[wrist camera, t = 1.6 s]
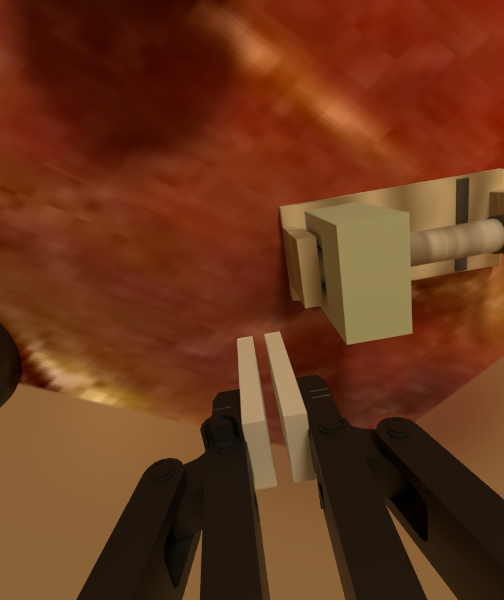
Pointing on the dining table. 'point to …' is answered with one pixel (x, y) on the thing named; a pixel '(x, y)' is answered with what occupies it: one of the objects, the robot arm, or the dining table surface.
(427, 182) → the rail stand
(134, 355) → the dining table surface
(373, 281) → the square sliding block
